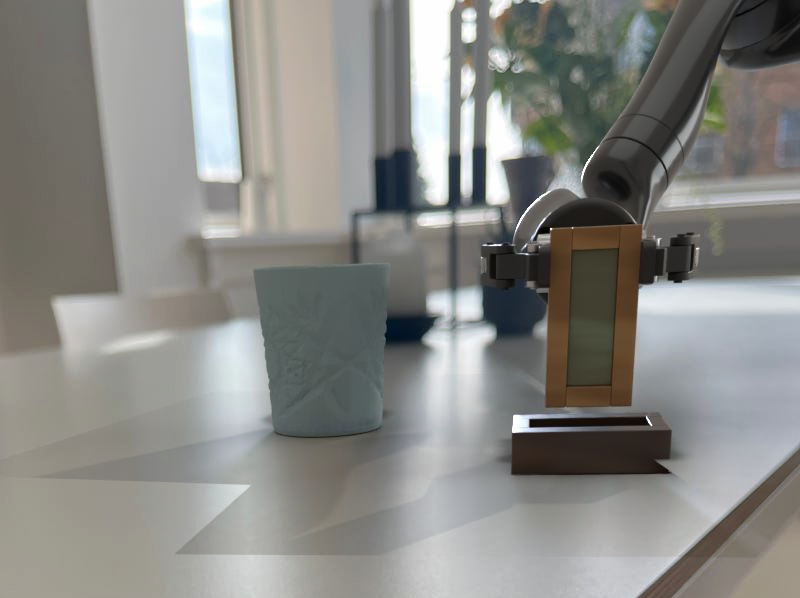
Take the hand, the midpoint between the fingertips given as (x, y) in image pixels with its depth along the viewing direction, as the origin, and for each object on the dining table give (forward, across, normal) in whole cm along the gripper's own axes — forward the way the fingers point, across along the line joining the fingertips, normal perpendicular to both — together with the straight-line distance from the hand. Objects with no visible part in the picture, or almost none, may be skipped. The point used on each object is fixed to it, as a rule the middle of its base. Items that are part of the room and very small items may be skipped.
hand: (595, 265), depth 57 cm
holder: (-2, 0, -12) cm, 12 cm away
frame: (-3, 0, -8) cm, 8 cm away
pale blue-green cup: (-17, +19, -12) cm, 28 cm away
